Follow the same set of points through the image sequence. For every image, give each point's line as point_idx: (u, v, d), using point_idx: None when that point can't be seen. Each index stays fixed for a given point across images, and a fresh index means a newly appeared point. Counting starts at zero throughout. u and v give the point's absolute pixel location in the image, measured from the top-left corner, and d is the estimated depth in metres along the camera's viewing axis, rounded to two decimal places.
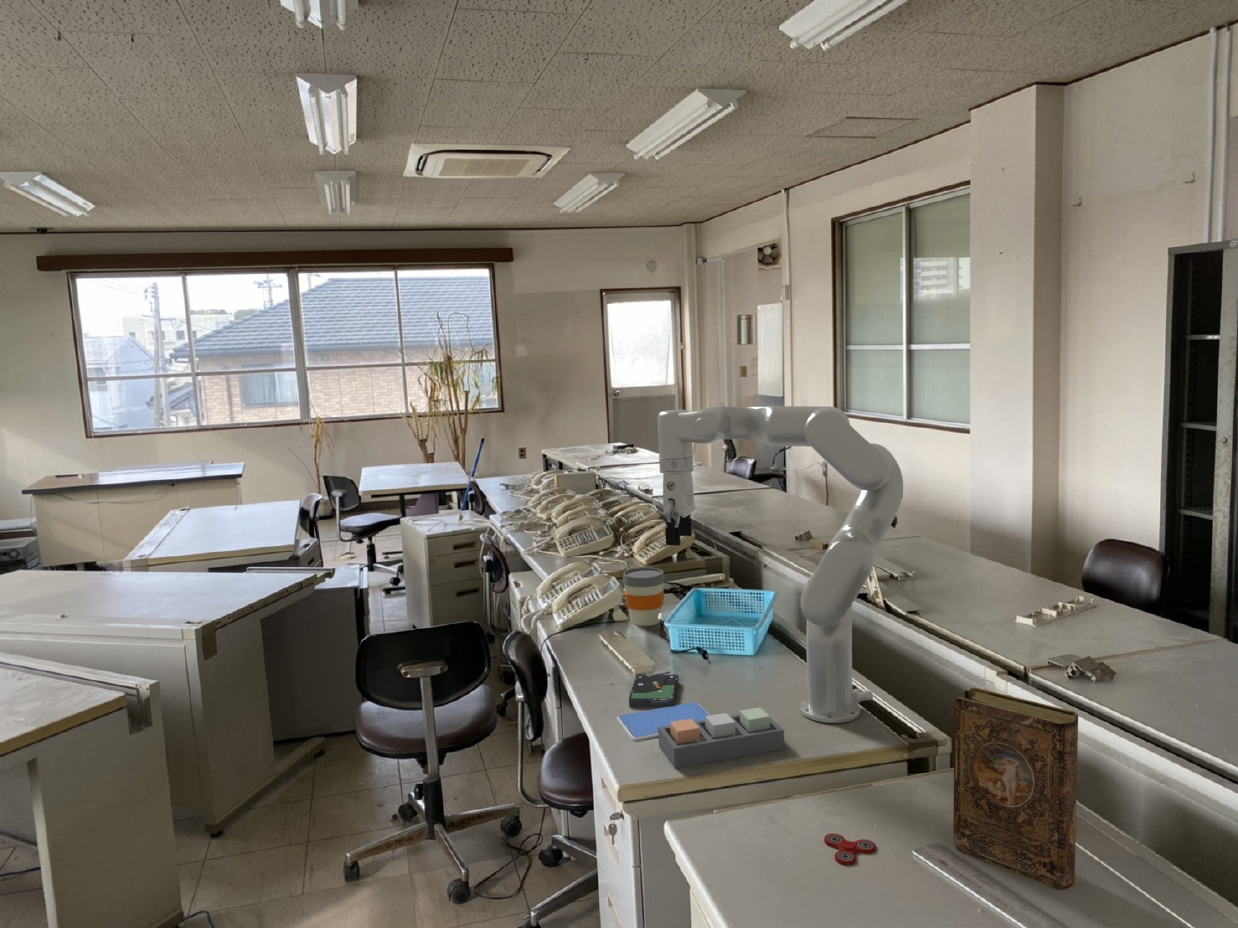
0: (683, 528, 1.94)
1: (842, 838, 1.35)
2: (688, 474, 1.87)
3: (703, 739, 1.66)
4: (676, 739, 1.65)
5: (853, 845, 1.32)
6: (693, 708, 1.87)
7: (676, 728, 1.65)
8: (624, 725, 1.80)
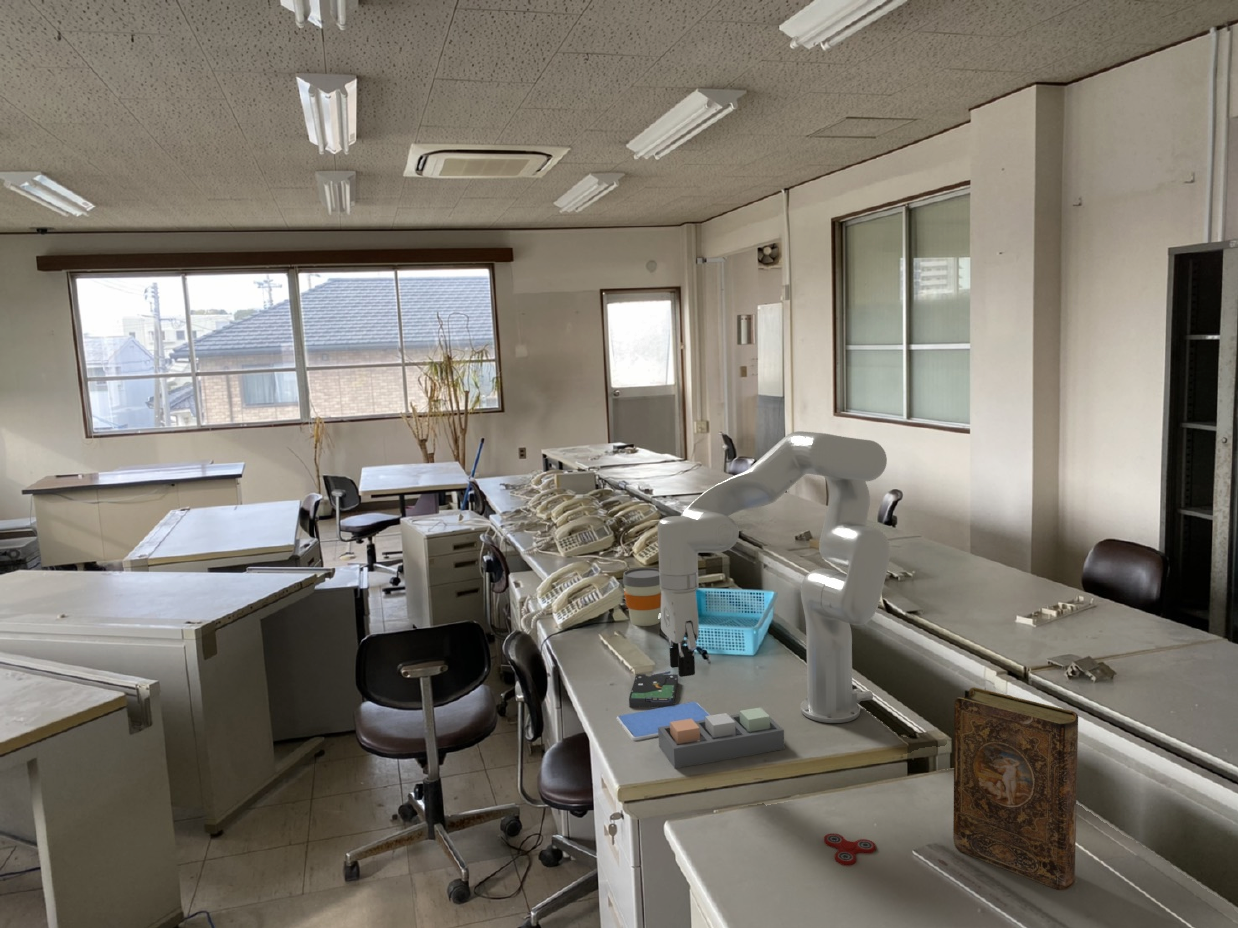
0: None
1: (841, 838, 1.35)
2: (666, 592, 1.62)
3: (703, 739, 1.66)
4: (676, 739, 1.65)
5: (853, 845, 1.32)
6: (693, 707, 1.87)
7: (676, 728, 1.65)
8: (624, 725, 1.80)
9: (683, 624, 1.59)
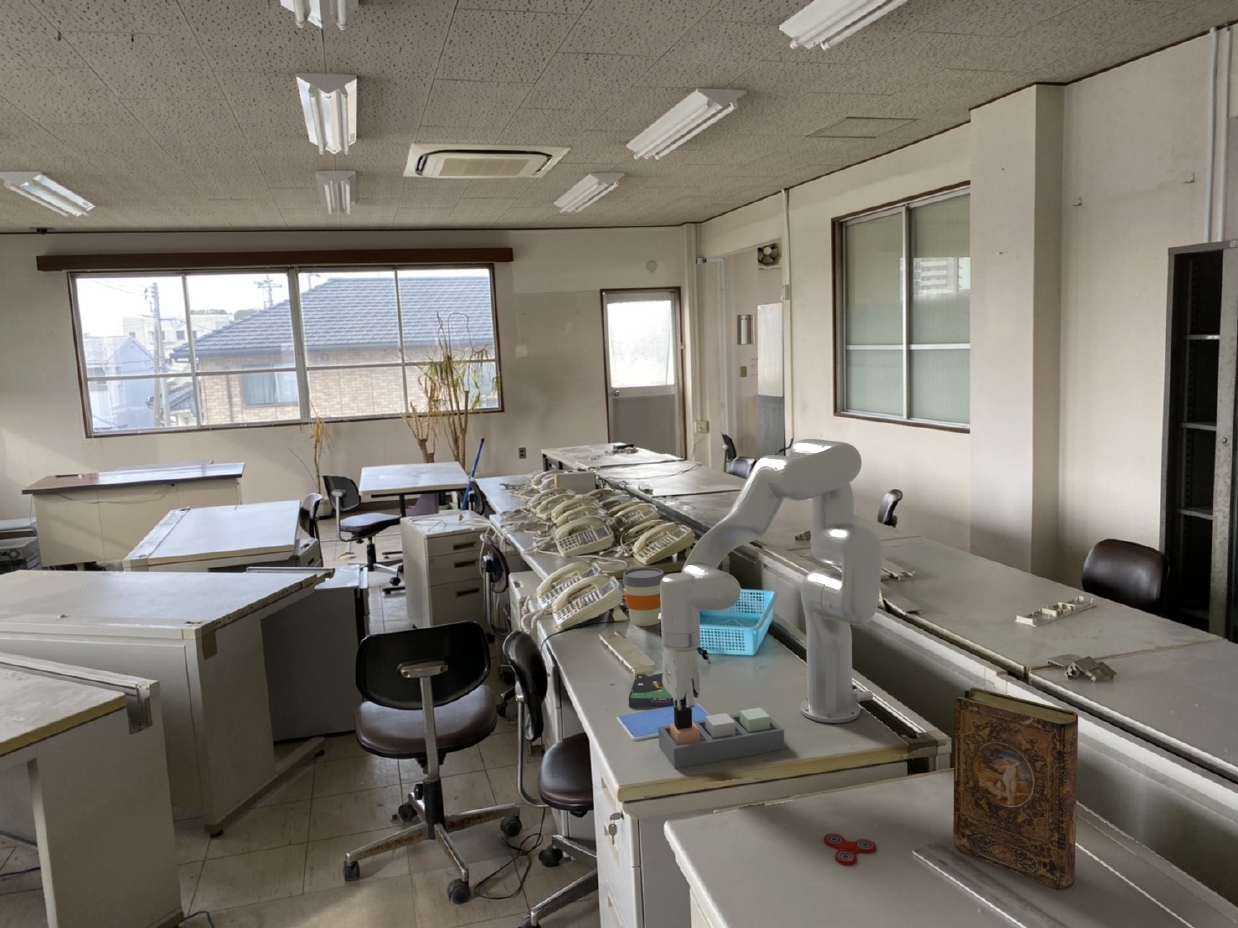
0: None
1: (841, 838, 1.35)
2: (668, 649, 1.64)
3: (703, 739, 1.66)
4: (676, 741, 1.65)
5: (853, 845, 1.32)
6: (693, 708, 1.87)
7: (676, 729, 1.65)
8: (624, 725, 1.80)
9: (684, 682, 1.60)
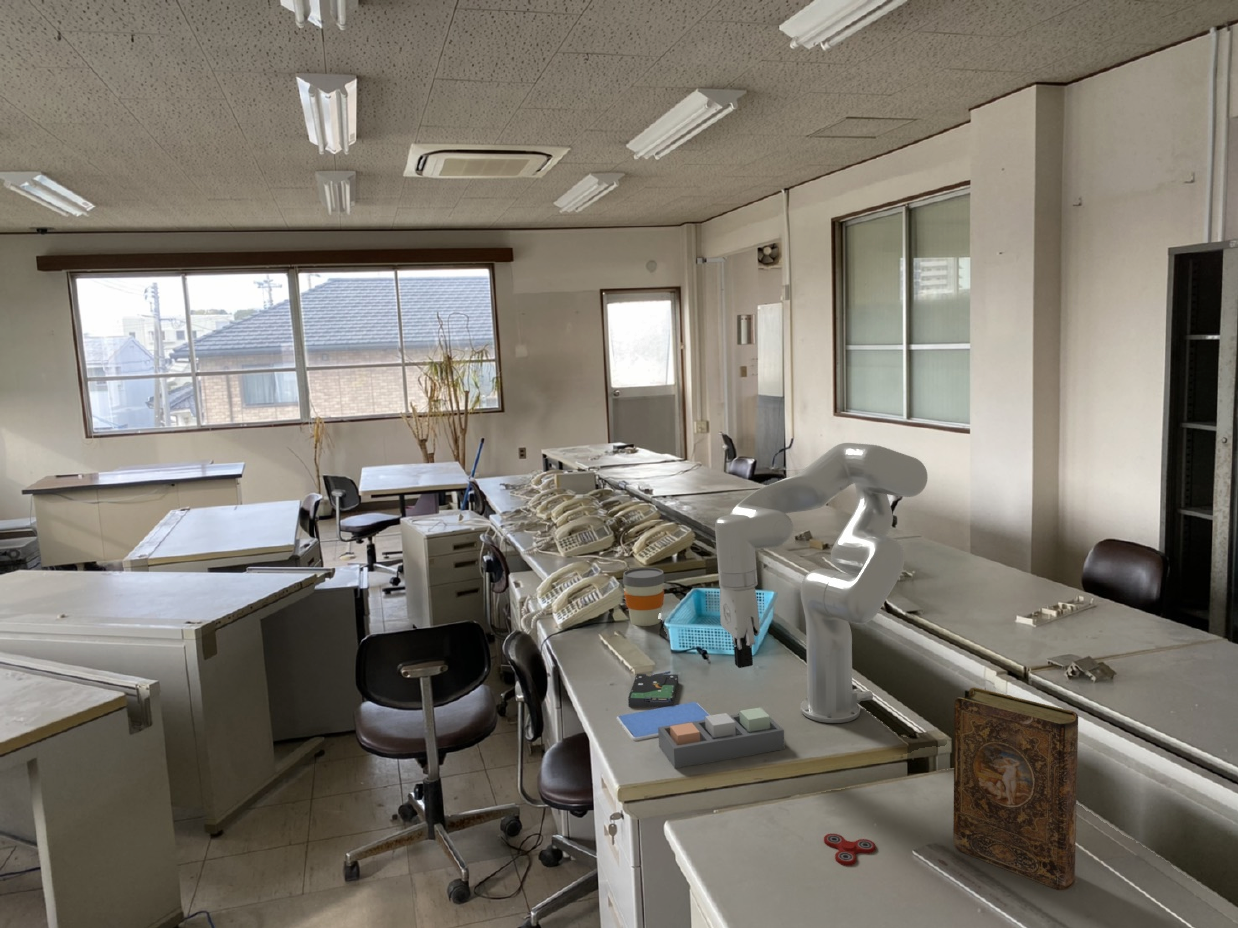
0: None
1: (841, 838, 1.35)
2: (726, 590, 1.66)
3: (703, 739, 1.66)
4: (676, 743, 1.65)
5: (853, 845, 1.32)
6: (693, 708, 1.87)
7: (676, 732, 1.65)
8: (624, 725, 1.80)
9: (744, 620, 1.62)
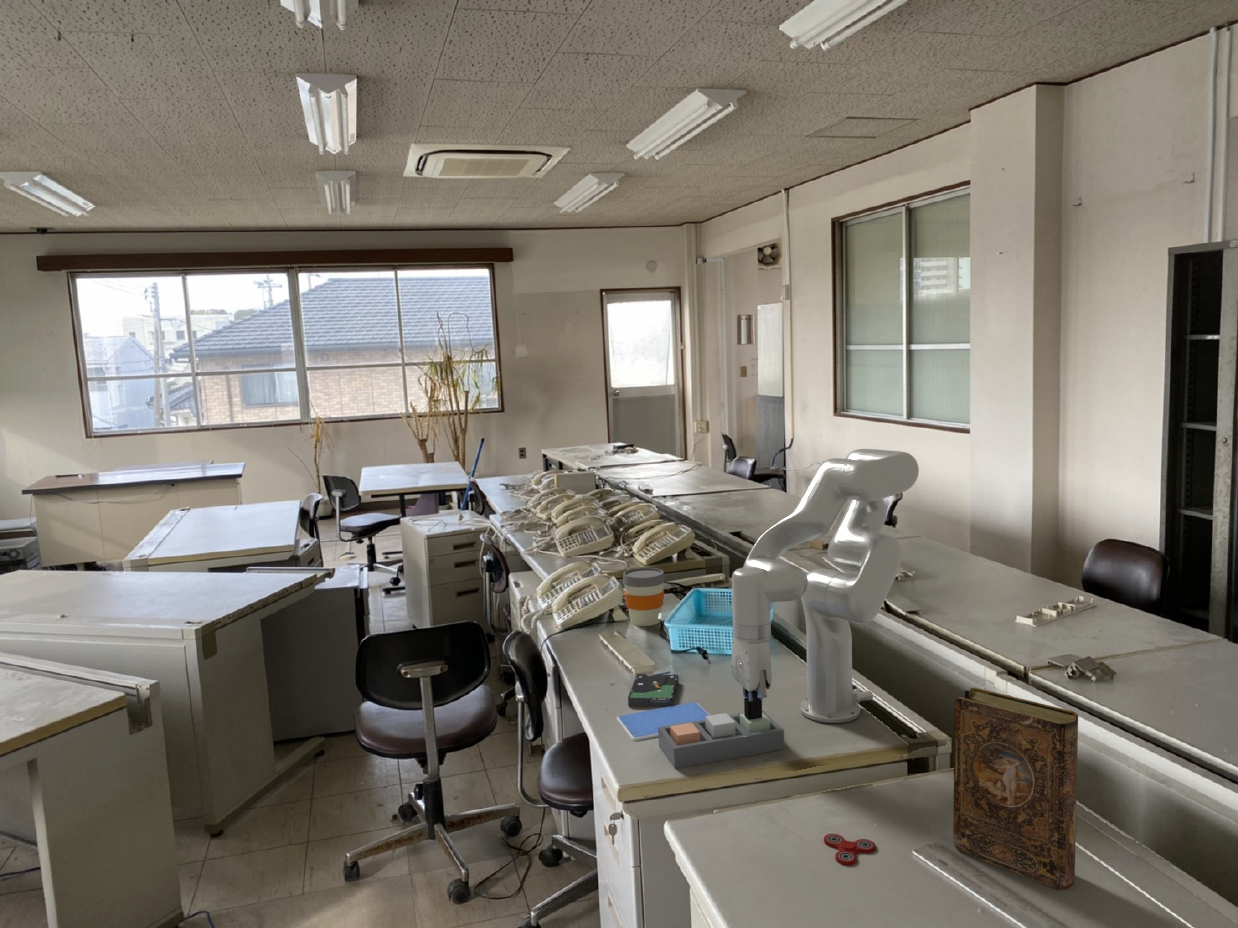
0: None
1: (841, 838, 1.35)
2: (739, 641, 1.67)
3: (703, 739, 1.66)
4: (676, 743, 1.65)
5: (853, 845, 1.32)
6: (693, 708, 1.87)
7: (676, 732, 1.65)
8: (624, 725, 1.80)
9: (757, 673, 1.64)
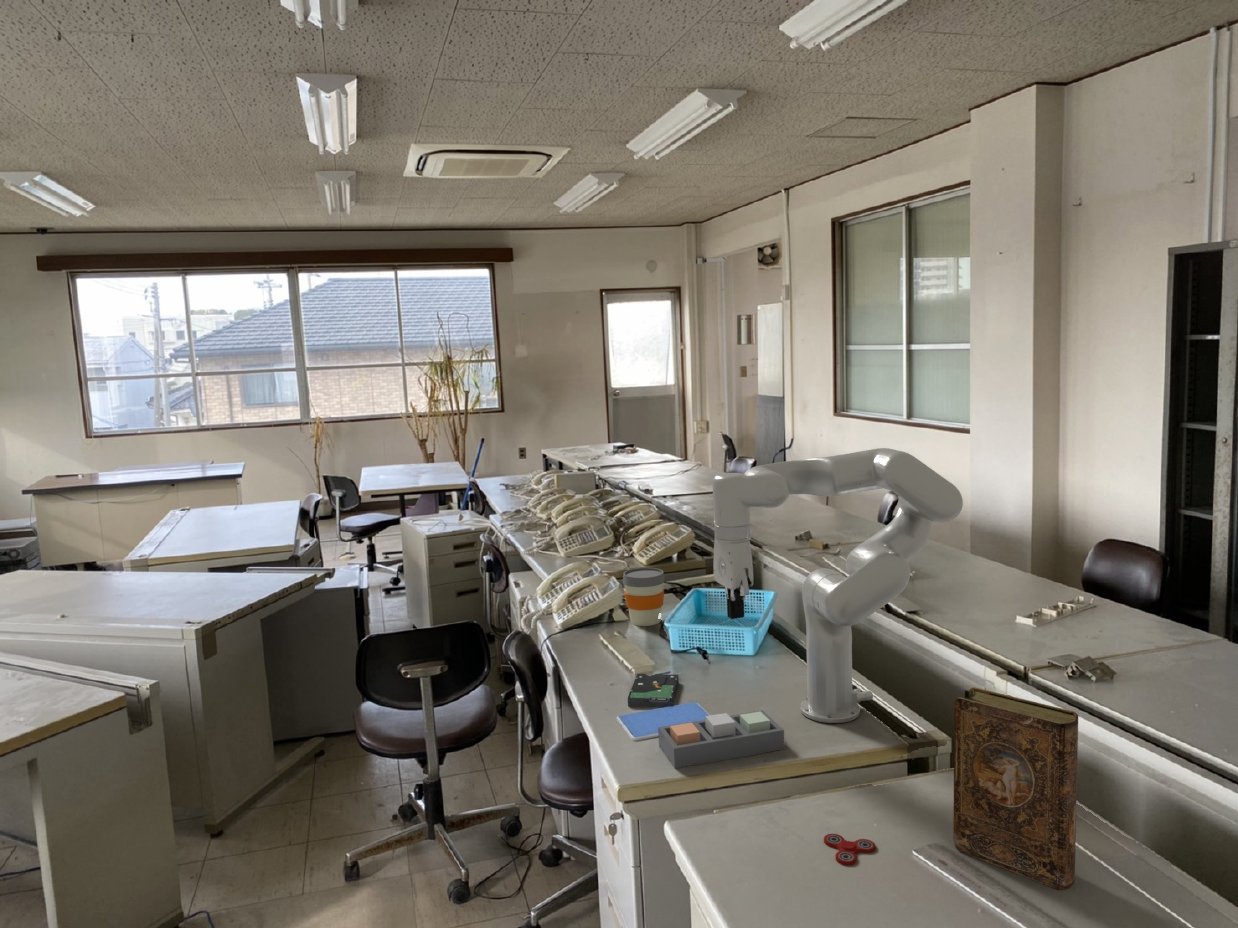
0: None
1: (841, 838, 1.35)
2: (721, 543, 1.75)
3: (703, 739, 1.66)
4: (676, 743, 1.65)
5: (853, 845, 1.32)
6: (693, 708, 1.87)
7: (676, 732, 1.65)
8: (624, 725, 1.80)
9: (740, 571, 1.71)
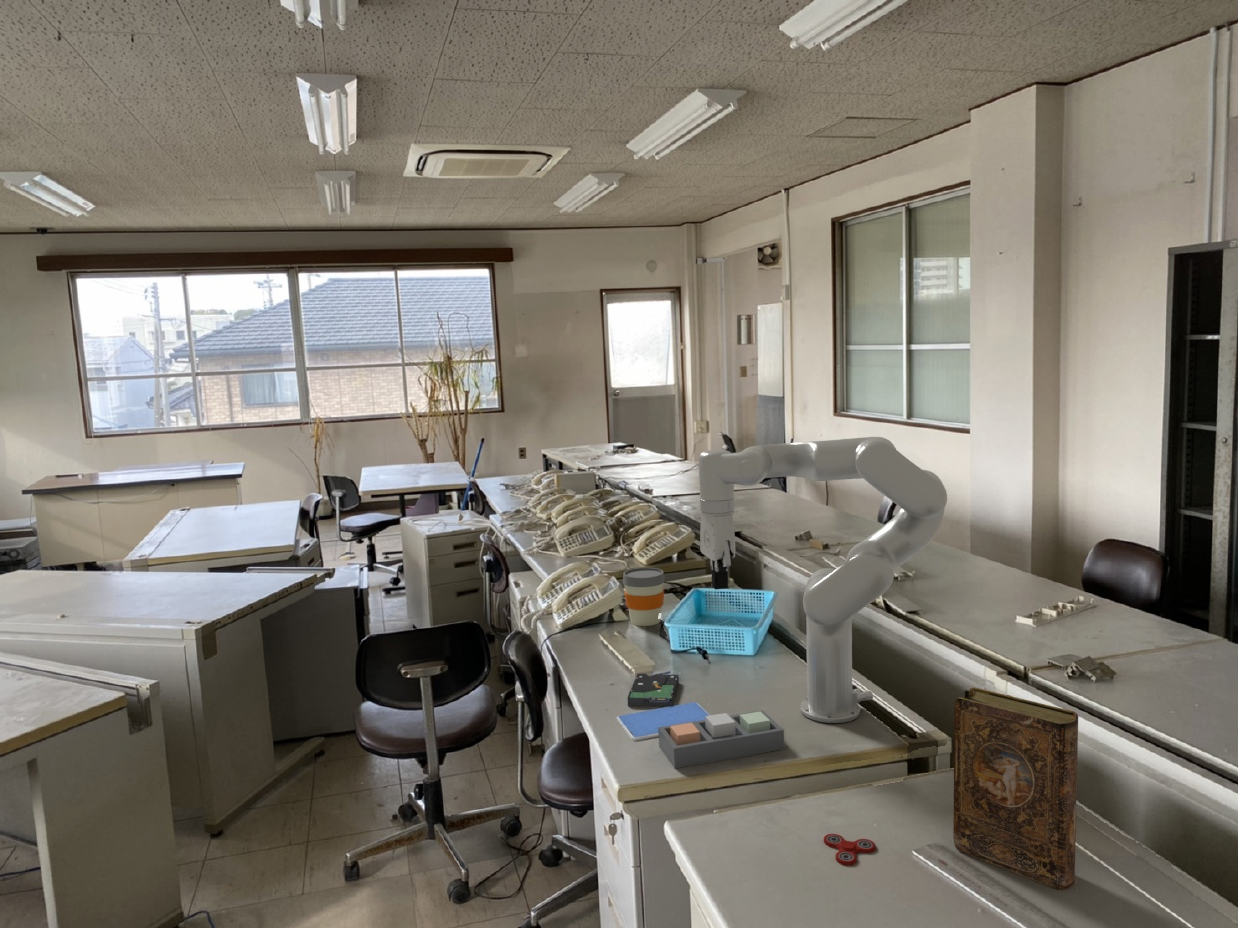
0: None
1: (841, 838, 1.35)
2: (706, 517, 1.84)
3: (703, 739, 1.66)
4: (676, 743, 1.65)
5: (853, 845, 1.32)
6: (693, 708, 1.87)
7: (676, 732, 1.65)
8: (624, 725, 1.80)
9: (722, 543, 1.80)
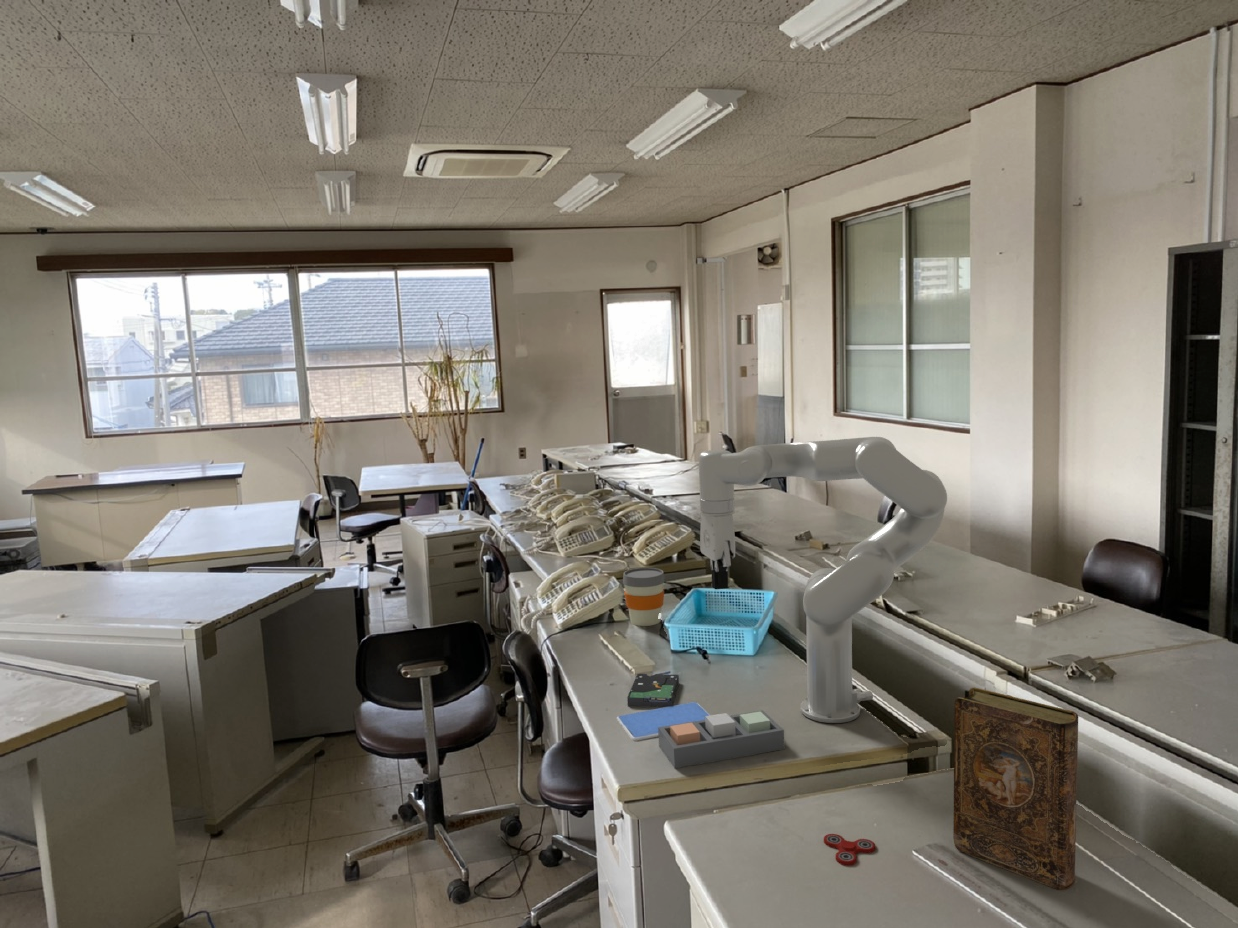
0: None
1: (841, 838, 1.35)
2: (706, 517, 1.84)
3: (703, 739, 1.66)
4: (676, 743, 1.65)
5: (853, 845, 1.32)
6: (693, 708, 1.87)
7: (676, 732, 1.65)
8: (624, 725, 1.80)
9: (722, 543, 1.80)
